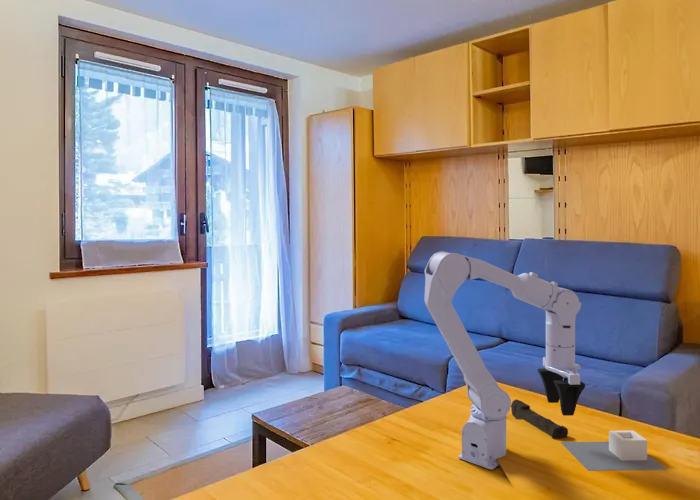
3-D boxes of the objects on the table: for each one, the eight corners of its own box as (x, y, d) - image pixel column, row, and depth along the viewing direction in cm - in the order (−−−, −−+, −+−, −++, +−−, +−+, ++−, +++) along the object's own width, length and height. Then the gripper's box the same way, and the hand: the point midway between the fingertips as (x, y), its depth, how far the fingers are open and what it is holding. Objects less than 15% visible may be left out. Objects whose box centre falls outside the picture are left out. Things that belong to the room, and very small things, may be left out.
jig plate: (588, 476, 97) (588, 454, 97) (560, 447, 110) (560, 428, 110) (667, 475, 97) (667, 453, 96) (630, 446, 110) (630, 427, 109)
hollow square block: (621, 460, 101) (621, 440, 100) (608, 449, 106) (608, 430, 105) (647, 460, 101) (647, 440, 100) (632, 449, 106) (632, 430, 105)
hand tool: (569, 443, 112) (569, 423, 112) (553, 445, 111) (553, 424, 111) (521, 414, 131) (521, 396, 131) (507, 415, 130) (507, 397, 130)
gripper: (595, 352, 99) (595, 420, 100) (564, 337, 114) (564, 396, 114) (559, 352, 99) (559, 421, 100) (533, 337, 114) (533, 397, 114)
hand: (560, 408), depth 107 cm, fingers open, 7 cm apart
